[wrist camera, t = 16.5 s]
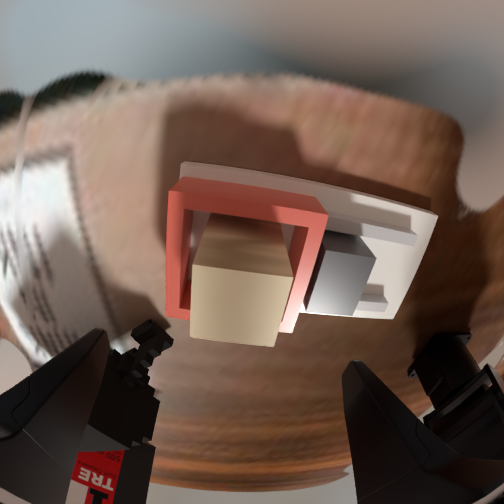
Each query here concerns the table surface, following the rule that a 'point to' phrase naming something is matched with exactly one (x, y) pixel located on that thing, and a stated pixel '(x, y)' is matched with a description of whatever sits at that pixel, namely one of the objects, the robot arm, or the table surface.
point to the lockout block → (240, 281)
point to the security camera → (126, 395)
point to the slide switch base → (295, 232)
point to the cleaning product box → (112, 476)
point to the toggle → (339, 274)
